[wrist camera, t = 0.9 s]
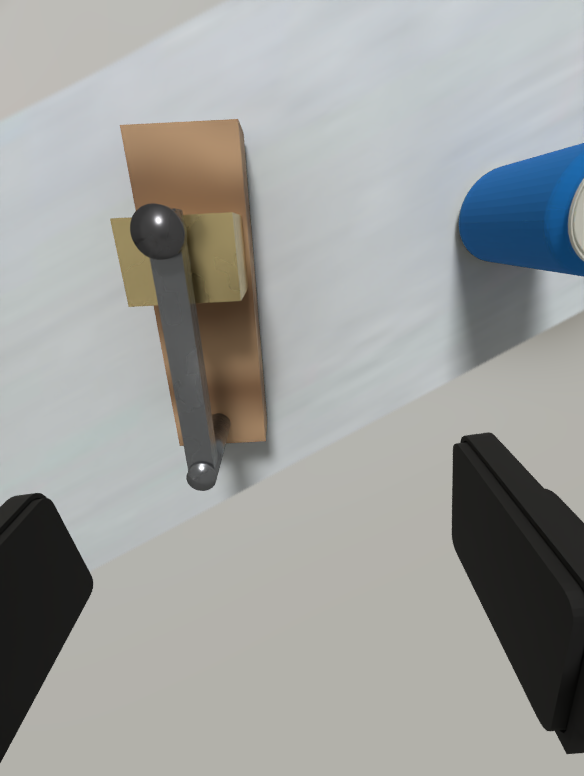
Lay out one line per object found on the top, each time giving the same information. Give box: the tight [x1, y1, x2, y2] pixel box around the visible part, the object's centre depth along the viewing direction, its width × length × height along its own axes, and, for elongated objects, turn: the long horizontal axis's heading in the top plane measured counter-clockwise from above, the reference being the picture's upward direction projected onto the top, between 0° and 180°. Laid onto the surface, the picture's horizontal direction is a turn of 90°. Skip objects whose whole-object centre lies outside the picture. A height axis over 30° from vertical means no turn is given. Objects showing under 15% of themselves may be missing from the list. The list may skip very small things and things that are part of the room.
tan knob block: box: [110, 212, 248, 307], centre depth 23 cm, size 5×6×5 cm
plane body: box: [120, 119, 267, 446], centre depth 29 cm, size 23×7×4 cm, turn 3°
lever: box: [130, 203, 231, 491], centre depth 24 cm, size 16×2×8 cm, turn 3°
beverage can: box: [459, 143, 584, 276], centre depth 23 cm, size 6×6×12 cm
